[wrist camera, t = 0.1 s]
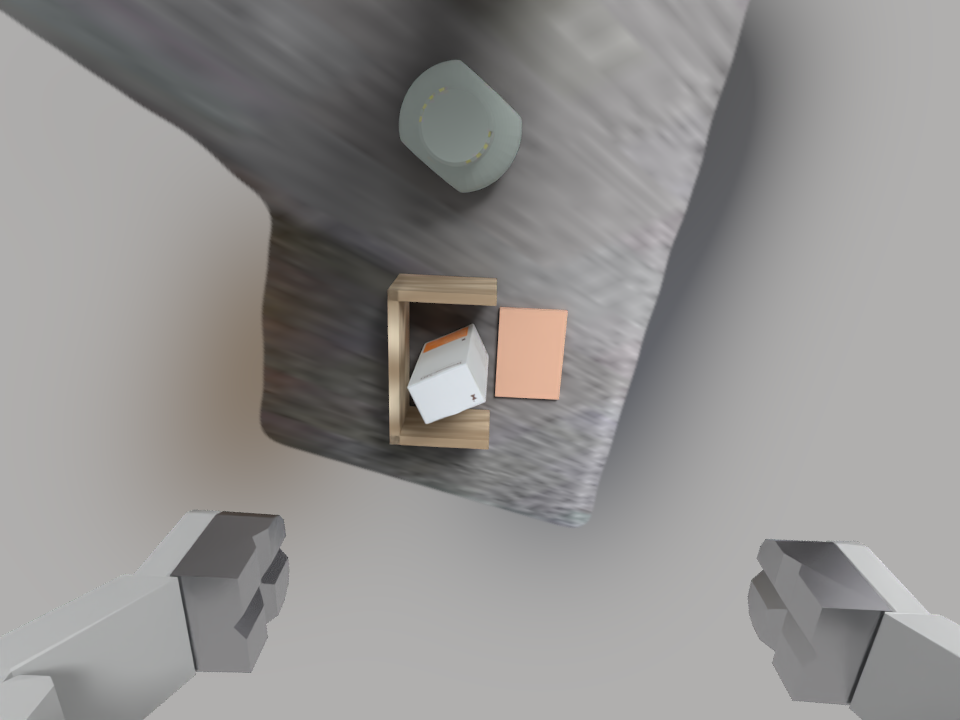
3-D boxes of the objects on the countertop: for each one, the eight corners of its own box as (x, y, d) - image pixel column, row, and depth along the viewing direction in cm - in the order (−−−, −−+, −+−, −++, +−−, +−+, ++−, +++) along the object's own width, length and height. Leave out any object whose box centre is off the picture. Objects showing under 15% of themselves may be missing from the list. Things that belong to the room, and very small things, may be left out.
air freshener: (389, 125, 53) (367, 121, 44) (444, 49, 51) (433, 28, 42) (478, 203, 56) (474, 215, 46) (535, 133, 53) (543, 131, 44)
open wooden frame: (399, 273, 58) (387, 290, 52) (496, 278, 58) (496, 295, 52) (400, 413, 64) (389, 444, 57) (489, 418, 64) (488, 449, 57)
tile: (500, 306, 59) (500, 308, 59) (566, 310, 59) (567, 311, 59) (494, 394, 63) (494, 396, 62) (558, 397, 63) (558, 399, 62)
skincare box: (473, 321, 60) (468, 361, 49) (489, 356, 61) (488, 403, 50) (421, 342, 61) (405, 387, 50) (438, 376, 62) (426, 427, 51)
